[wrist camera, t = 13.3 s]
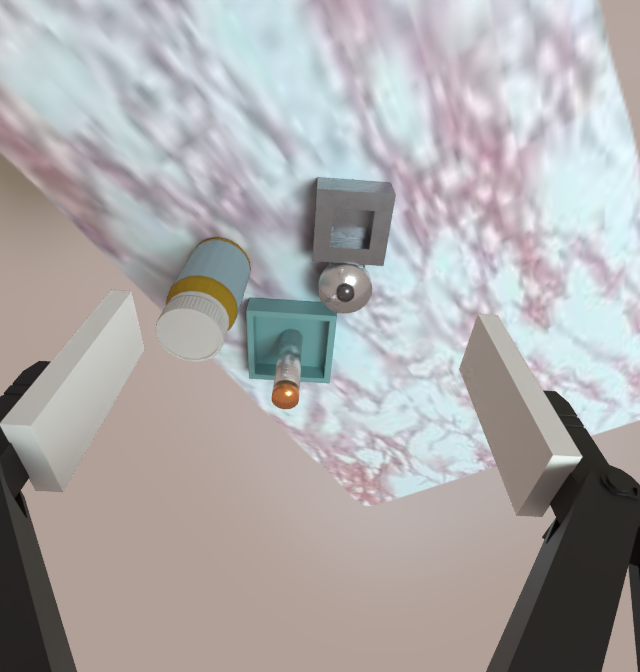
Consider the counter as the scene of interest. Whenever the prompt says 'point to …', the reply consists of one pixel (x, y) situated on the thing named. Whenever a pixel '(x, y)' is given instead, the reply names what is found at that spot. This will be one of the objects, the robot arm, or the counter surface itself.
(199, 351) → the bottle
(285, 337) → the pin
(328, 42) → the counter surface
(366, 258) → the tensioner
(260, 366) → the tray
